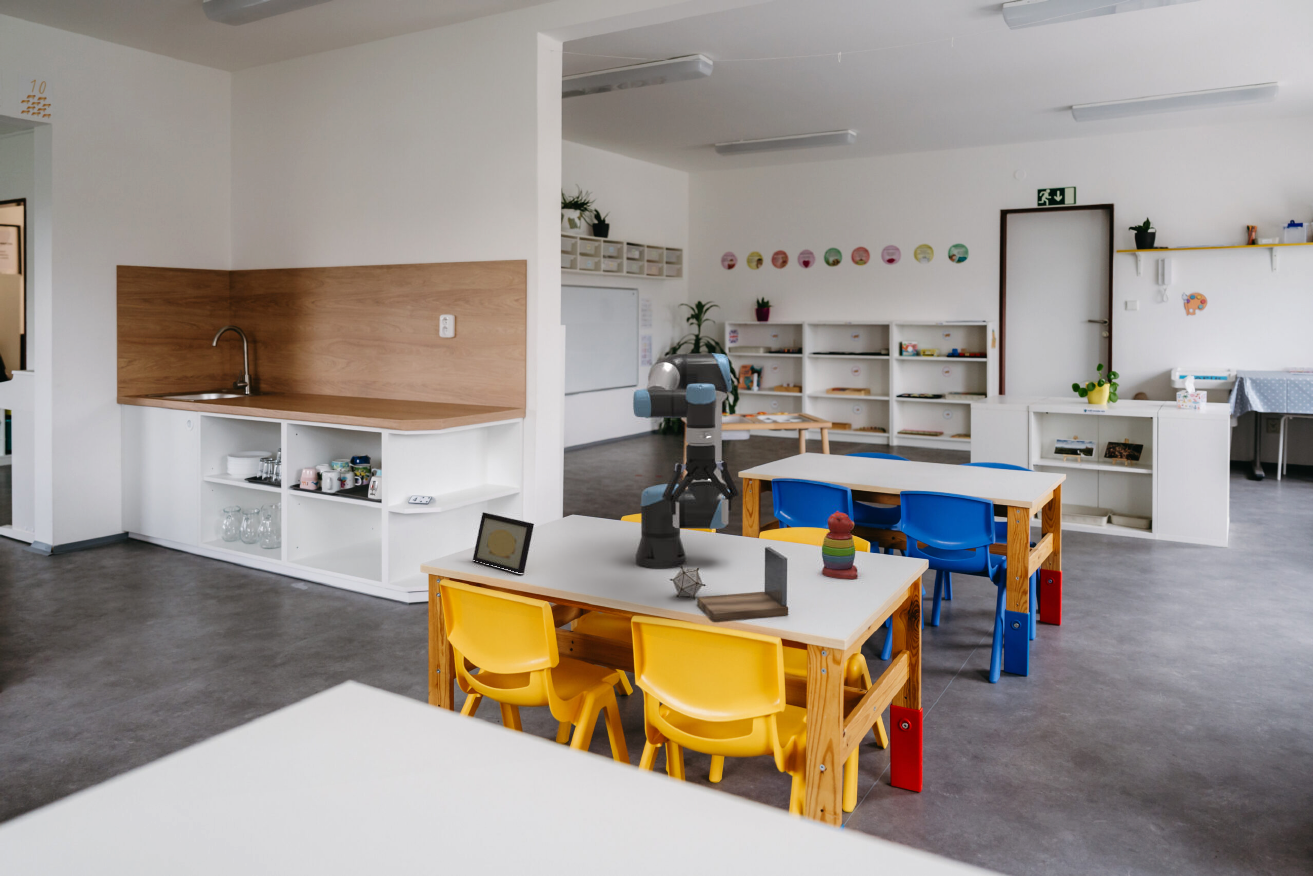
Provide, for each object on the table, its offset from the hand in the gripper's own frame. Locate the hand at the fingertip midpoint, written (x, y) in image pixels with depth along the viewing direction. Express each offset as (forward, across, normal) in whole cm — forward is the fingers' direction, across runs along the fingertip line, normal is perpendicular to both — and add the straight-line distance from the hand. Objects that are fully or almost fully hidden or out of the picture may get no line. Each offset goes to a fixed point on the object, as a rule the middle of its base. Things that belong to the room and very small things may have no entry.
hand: (700, 525), depth 234 cm
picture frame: (+19, -43, +48) cm, 67 cm away
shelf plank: (+19, +6, -13) cm, 24 cm away
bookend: (+17, +15, -14) cm, 27 cm away
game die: (+19, -3, +2) cm, 20 cm away
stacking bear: (+19, +46, +8) cm, 50 cm away
